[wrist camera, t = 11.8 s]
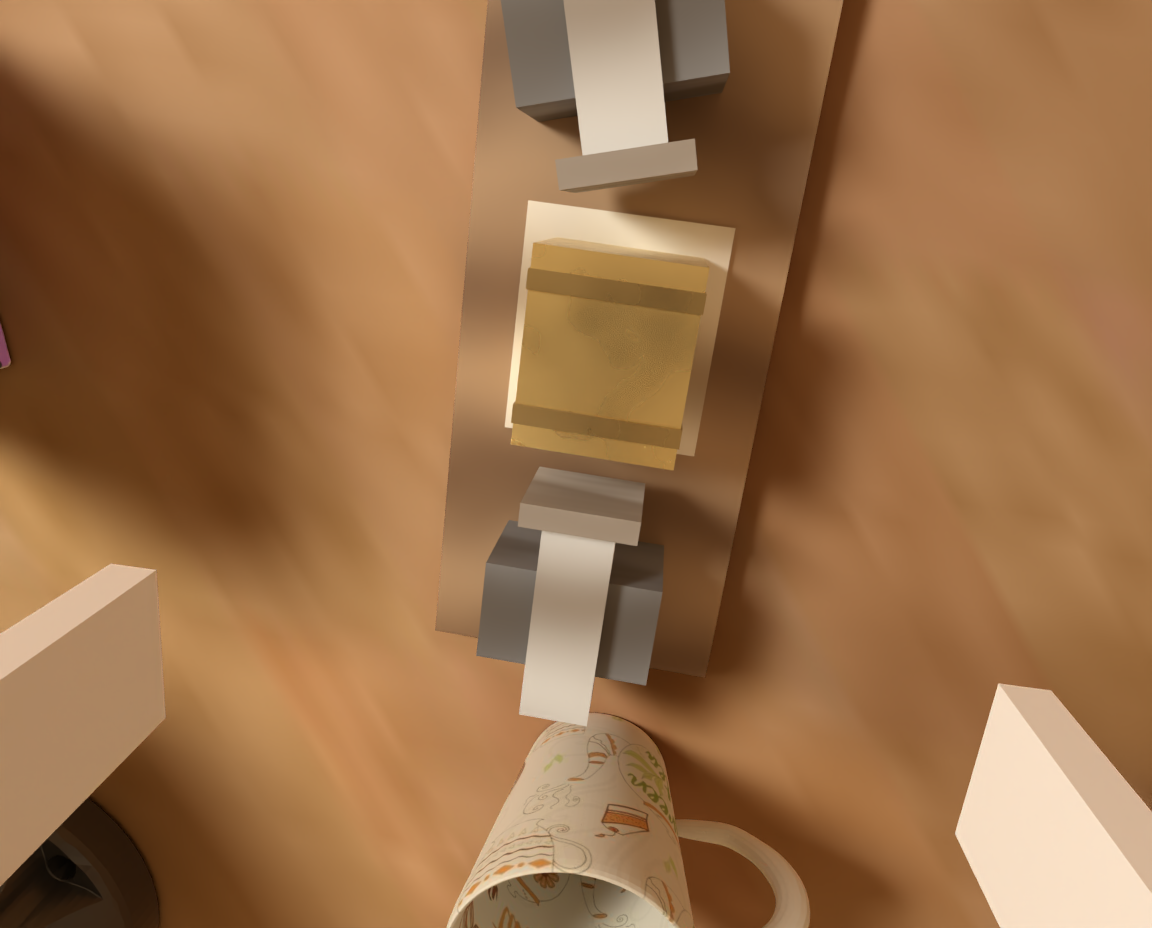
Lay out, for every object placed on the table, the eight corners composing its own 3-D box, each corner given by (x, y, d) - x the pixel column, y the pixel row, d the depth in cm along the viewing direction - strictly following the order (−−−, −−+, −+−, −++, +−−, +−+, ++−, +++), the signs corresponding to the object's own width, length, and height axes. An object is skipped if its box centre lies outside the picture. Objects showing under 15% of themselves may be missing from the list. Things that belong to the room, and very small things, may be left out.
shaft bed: (704, 664, 33) (710, 761, 27) (441, 618, 34) (393, 704, 28) (851, -65, 25) (906, -150, 19) (504, -103, 26) (454, -195, 20)
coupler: (556, 236, 28) (530, 242, 23) (704, 258, 27) (711, 268, 23) (535, 407, 30) (508, 444, 25) (675, 428, 29) (675, 472, 24)
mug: (508, 674, 34) (446, 849, 25) (809, 717, 33) (863, 918, 24) (497, 833, 37) (436, 1047, 28) (776, 878, 36) (812, 1117, 26)
